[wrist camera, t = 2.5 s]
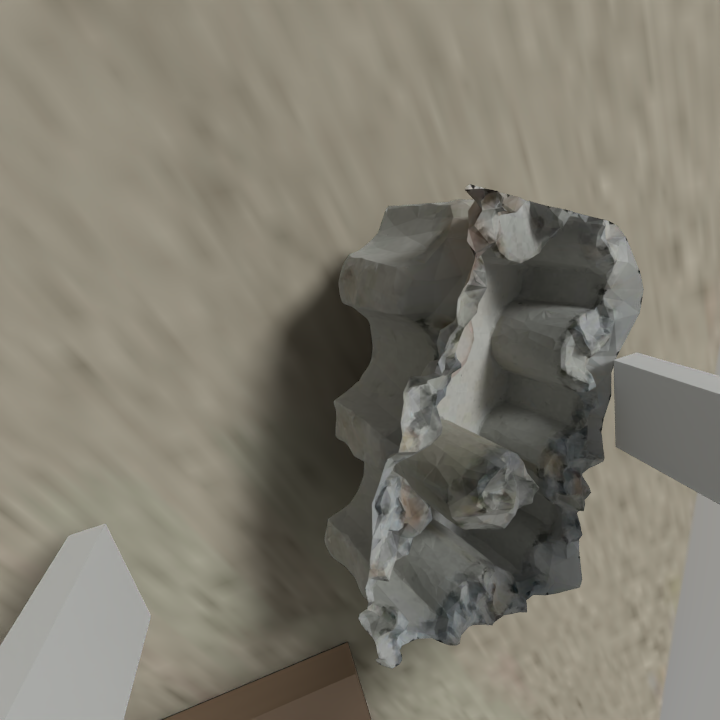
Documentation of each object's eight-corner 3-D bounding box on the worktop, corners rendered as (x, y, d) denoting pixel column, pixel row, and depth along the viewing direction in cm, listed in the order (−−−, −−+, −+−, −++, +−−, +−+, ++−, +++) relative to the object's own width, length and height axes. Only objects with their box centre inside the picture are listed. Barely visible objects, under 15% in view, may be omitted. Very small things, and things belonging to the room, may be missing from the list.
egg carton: (338, 176, 9) (488, 139, 6) (544, 228, 13) (700, 224, 10) (299, 600, 11) (392, 749, 8) (487, 530, 15) (599, 609, 12)
